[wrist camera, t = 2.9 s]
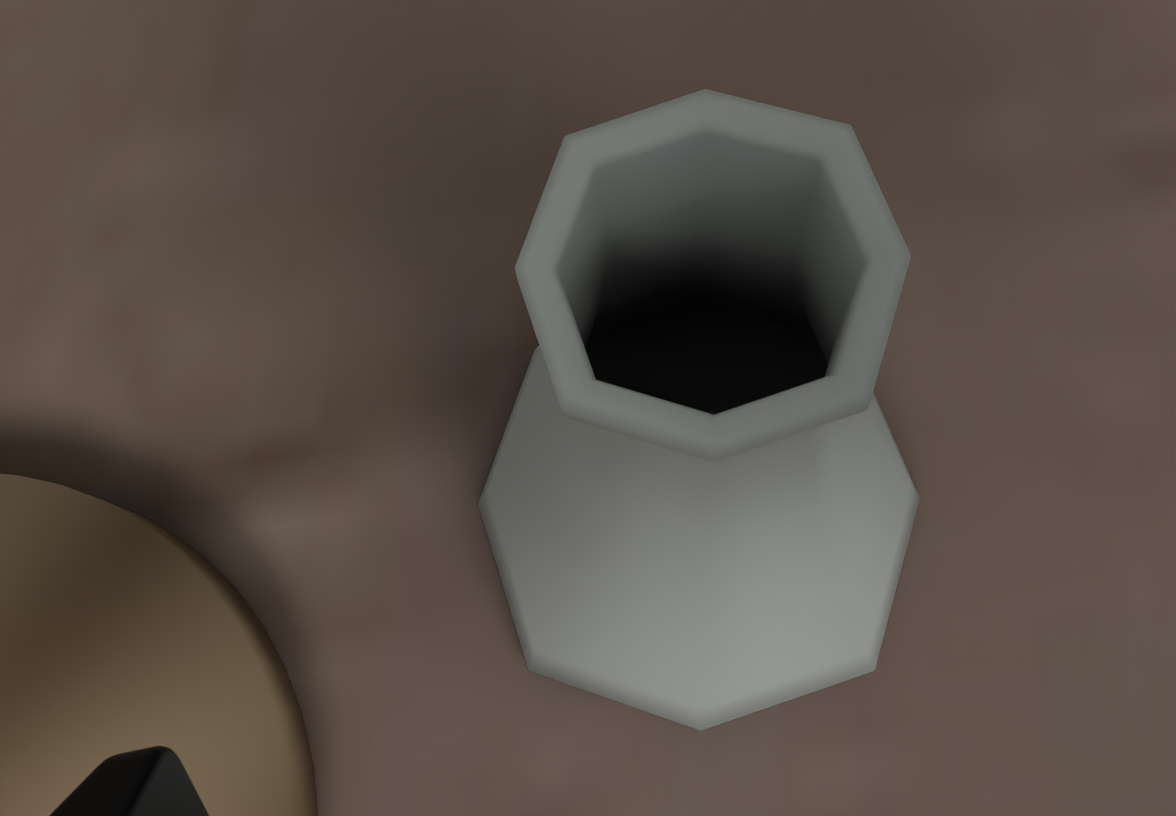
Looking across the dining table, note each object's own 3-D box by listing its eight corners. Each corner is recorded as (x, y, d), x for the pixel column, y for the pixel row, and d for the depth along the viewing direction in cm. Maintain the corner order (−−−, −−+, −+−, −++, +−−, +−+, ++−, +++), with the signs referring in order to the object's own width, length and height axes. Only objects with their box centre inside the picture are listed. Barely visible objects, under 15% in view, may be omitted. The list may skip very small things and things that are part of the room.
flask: (487, 307, 20) (306, -90, 10) (900, 297, 19) (1115, -136, 10) (473, 729, 18) (232, 726, 8) (935, 731, 17) (1253, 729, 8)
